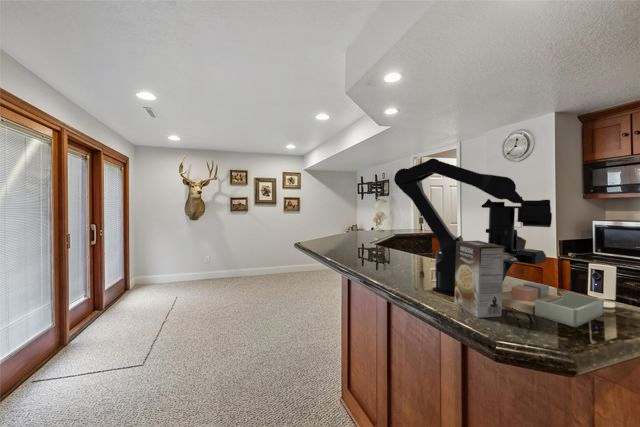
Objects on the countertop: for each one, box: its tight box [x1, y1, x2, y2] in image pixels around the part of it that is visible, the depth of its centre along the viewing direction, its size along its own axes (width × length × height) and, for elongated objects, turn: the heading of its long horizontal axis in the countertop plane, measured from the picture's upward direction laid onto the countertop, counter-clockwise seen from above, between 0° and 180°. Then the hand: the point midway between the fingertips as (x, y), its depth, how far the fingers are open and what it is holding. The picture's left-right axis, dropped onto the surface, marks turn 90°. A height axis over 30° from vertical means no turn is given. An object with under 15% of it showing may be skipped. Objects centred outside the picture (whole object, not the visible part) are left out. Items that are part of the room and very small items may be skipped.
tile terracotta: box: [511, 284, 538, 302], centre depth 74 cm, size 4×4×2 cm
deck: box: [502, 290, 563, 315], centre depth 76 cm, size 9×14×2 cm, turn 120°
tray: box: [534, 290, 605, 328], centre depth 68 cm, size 8×14×4 cm, turn 120°
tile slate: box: [522, 281, 550, 298], centre depth 77 cm, size 4×4×2 cm
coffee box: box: [453, 240, 504, 319], centre depth 71 cm, size 9×6×16 cm
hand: (499, 284), depth 79 cm, fingers closed
